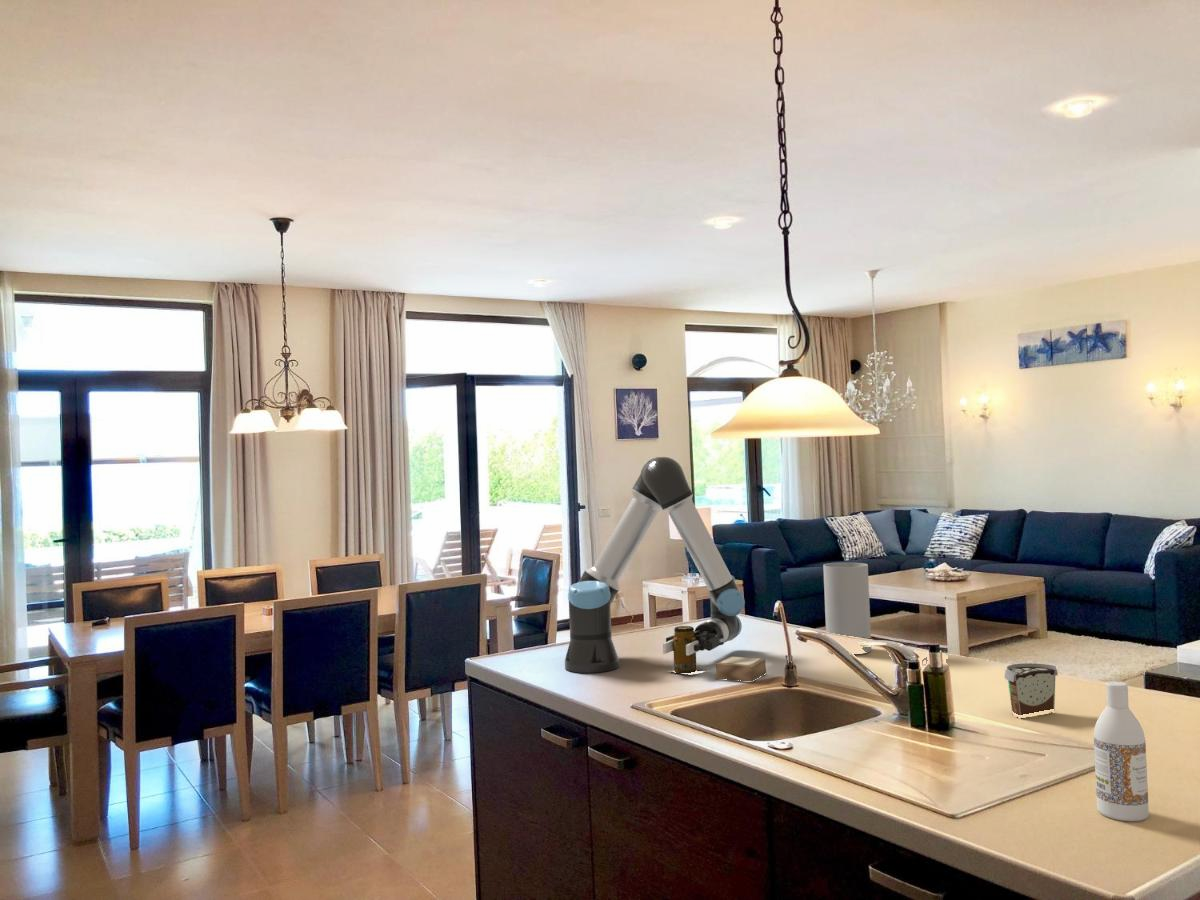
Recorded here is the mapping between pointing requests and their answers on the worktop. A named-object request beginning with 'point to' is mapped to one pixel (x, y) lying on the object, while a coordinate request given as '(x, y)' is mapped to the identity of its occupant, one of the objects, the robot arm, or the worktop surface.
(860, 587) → the cylinder vase
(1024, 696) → the food container
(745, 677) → the plinth
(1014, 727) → the worktop surface
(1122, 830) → the worktop surface
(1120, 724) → the bath foam
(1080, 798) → the worktop surface
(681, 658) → the condiment
